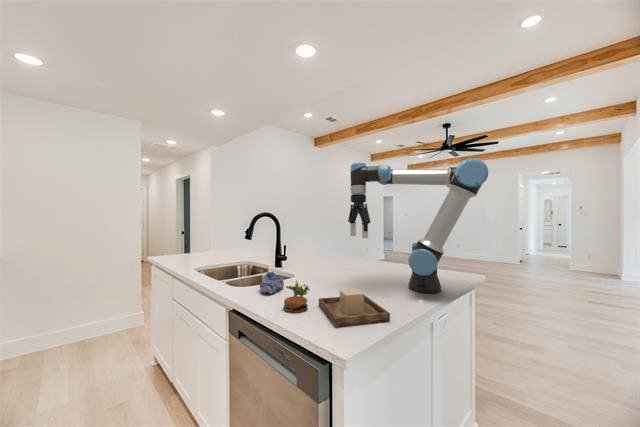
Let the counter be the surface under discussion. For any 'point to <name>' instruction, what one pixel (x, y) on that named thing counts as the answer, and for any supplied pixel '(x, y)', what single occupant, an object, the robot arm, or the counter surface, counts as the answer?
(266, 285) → the mineral
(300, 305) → the burger
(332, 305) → the tray
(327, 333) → the counter surface
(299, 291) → the figurine
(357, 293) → the tan block
